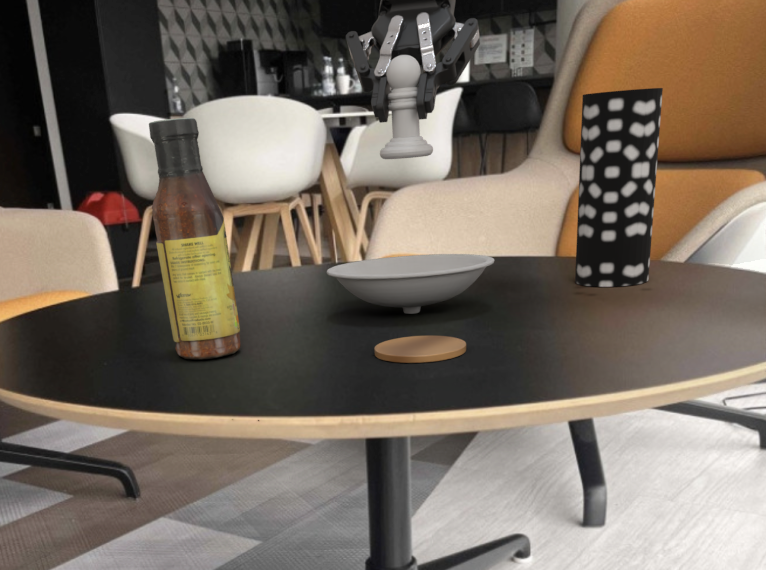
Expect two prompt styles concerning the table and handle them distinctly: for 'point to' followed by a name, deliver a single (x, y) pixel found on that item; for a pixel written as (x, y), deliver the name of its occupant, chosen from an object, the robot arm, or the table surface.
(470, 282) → the dish
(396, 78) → the chess piece
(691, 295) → the table surface
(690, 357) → the table surface
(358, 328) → the table surface
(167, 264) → the sauce bottle
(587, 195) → the spotted tube
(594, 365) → the table surface
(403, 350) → the cork coaster
